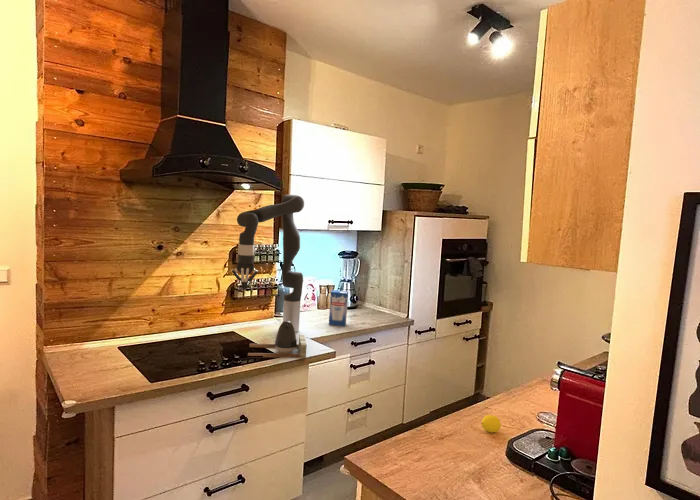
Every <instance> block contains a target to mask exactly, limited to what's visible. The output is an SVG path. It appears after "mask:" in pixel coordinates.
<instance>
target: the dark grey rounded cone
mask: <svg viewBox="0 0 700 500" xmlns="http://www.w3.org/2000/svg"><path fill="white" fill-rule="evenodd" d="M296 333H297V332H295V329H294V326H293V324H292V323H291V322H290V321H284V322H283V321H281V324H280V325H279V327H278V329H277V333H276V335H275V340H274V344H275V346H276V348H275V349H276V351H277V353H294V351H295V349H296V348H295V347H296V345H297V344H298V343H297V334H296Z"/></svg>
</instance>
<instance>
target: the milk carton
mask: <svg viewBox="0 0 700 500" xmlns="http://www.w3.org/2000/svg"><path fill="white" fill-rule="evenodd" d="M348 300H349V291H345V290H333V289H332V290H331V291H330V299H329V313H328V314H329V316H328V325H329V326H339V327H340V326H341V327H345V326H346V325H347V316H348Z"/></svg>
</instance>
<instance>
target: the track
mask: <svg viewBox="0 0 700 500" xmlns="http://www.w3.org/2000/svg"><path fill="white" fill-rule="evenodd" d="M248 348H267V349H269V348H271V349H272V348H273V349H274V348H275V349H276V346H275V343H249V347H248ZM295 349H298V352H299V353H297V352H296V353H294V352H292V353H279V352H275V353H274V352H272V353H271V352H248V353H247V357H248V356H263V357H262V358H302V359H303V358H307V341H306V337H305V335H304V334H302V335H301V334H300V335H298V343H297V345H296V347H295Z"/></svg>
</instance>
